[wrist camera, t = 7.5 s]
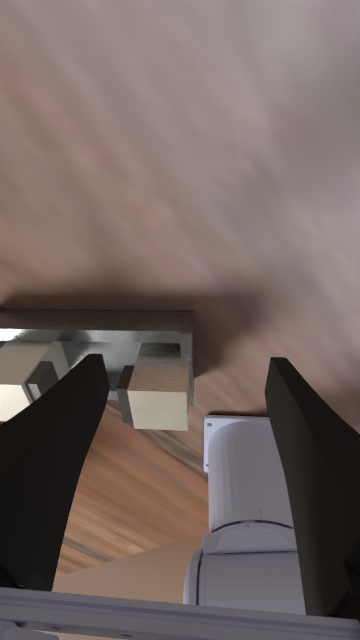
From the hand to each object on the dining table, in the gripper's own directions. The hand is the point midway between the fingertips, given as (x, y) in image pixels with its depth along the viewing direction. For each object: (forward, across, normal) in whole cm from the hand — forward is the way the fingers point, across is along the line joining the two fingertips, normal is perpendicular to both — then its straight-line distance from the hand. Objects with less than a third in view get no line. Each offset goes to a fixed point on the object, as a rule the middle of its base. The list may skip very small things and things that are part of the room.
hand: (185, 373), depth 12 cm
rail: (+9, +8, +6) cm, 14 cm away
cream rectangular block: (+8, +12, +6) cm, 16 cm away
